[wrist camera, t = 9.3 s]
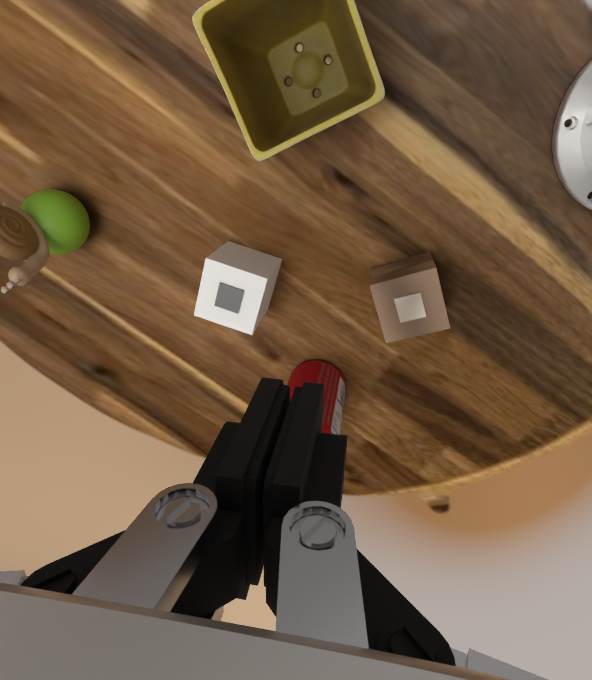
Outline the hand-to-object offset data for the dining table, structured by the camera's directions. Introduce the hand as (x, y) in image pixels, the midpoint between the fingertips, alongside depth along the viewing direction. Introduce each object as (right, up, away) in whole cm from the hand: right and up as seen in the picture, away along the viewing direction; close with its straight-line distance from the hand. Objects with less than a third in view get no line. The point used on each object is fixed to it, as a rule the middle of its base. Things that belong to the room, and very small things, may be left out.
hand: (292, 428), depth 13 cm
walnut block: (+10, +7, +28) cm, 30 cm away
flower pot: (+1, +22, +22) cm, 32 cm away
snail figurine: (-20, +13, +30) cm, 39 cm away
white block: (-4, +8, +30) cm, 31 cm away
